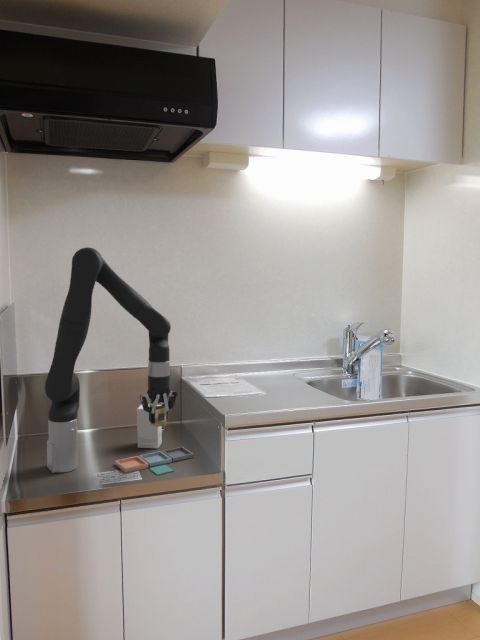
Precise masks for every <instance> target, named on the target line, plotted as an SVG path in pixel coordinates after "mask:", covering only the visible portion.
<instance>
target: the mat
mask: <svg viewBox="0 0 480 640" xmlns="http://www.w3.org/2000/svg"><path fill="white" fill-rule="evenodd" d="M148 469H149V471H151V472H152V473H153V474H155V475H156V476H160V475H164V474H165V473H166V474H170V473H173V472H174V470H173V469H172V468H170V467H169V466H168V465H167V464H163V465H159V466H155V467H148Z"/></svg>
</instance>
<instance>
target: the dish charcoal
mask: <svg viewBox="0 0 480 640" xmlns="http://www.w3.org/2000/svg"><path fill="white" fill-rule="evenodd" d="M161 452H163V453H164V454H166V455H167V456H169V457H170V458H172V463H177V462H180V461H186V460H188V459H189V460H190V459H194V455H195V454H194V452H191V451H190V450H188V449H187V448H185V446H179V447H174V448H169V449H163V450H161Z"/></svg>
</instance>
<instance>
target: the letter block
mask: <svg viewBox="0 0 480 640" xmlns="http://www.w3.org/2000/svg"><path fill="white" fill-rule="evenodd" d="M154 413H155V423H154V424H152V423H150V424H152V425H153V426H155V427H159V426H167V421H166V408H165V407H163V406H162V405H161V406H157V407H156V408H155V412H154Z"/></svg>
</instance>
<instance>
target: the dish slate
mask: <svg viewBox="0 0 480 640" xmlns="http://www.w3.org/2000/svg"><path fill="white" fill-rule="evenodd" d="M138 456H139V457H140V458H142V459H143V460H144V461H146V462H147V463H148V464H149V466H148V468H152V467H157V466H161V465H167V464H172V463H173V462H172V458H170V457H169V456H167V455H166V454H164V453H163V452H162V450H159V451H154V452H151V453H149V452H148V453H145V454H140V455H138Z"/></svg>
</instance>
